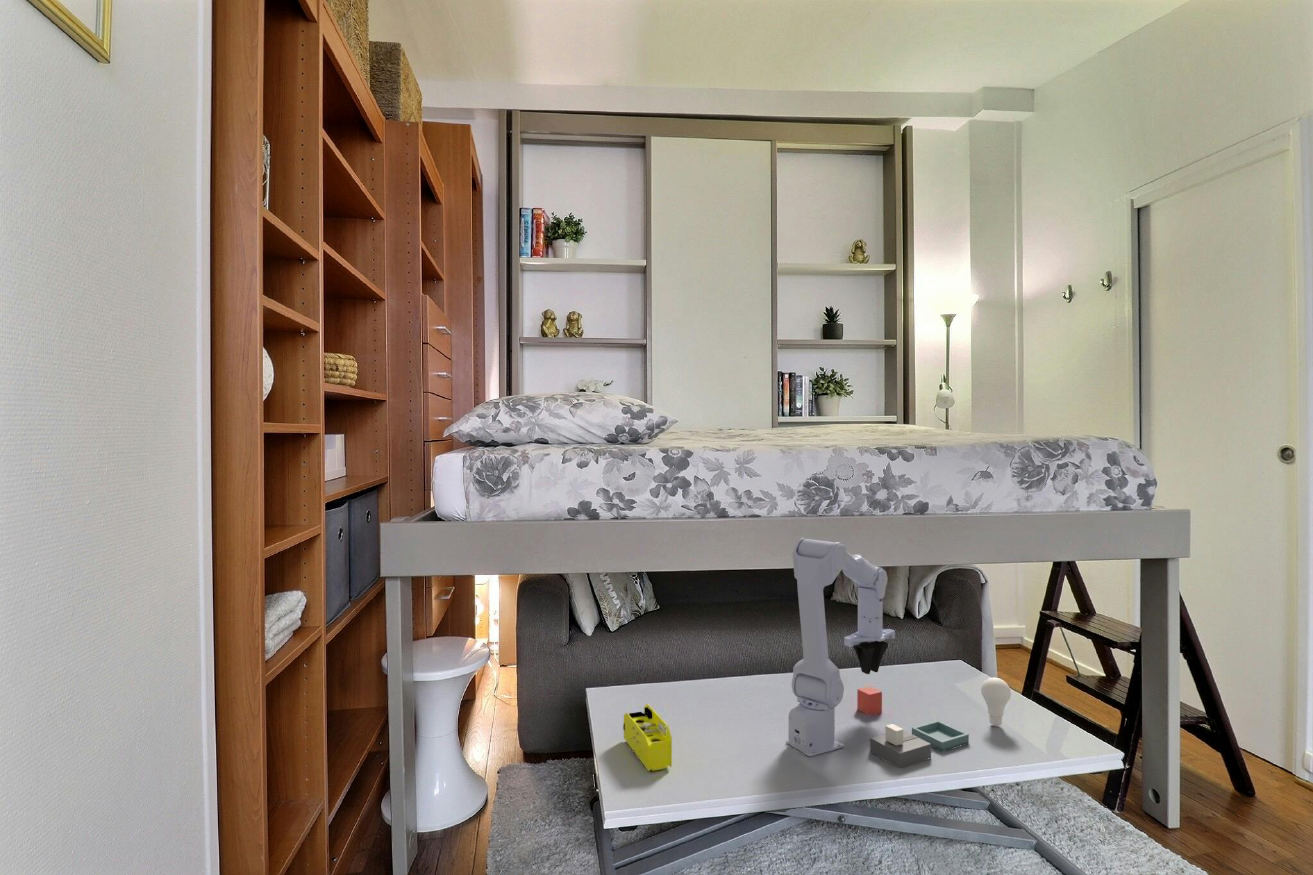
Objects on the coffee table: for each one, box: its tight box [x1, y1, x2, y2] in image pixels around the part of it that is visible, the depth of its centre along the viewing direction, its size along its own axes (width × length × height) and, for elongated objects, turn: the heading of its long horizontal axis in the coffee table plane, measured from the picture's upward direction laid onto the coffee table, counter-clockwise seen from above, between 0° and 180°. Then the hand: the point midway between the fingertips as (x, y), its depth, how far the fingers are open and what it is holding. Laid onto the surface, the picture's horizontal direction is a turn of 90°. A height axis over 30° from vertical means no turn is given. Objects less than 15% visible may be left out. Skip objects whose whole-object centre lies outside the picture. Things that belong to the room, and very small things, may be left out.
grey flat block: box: [869, 729, 932, 769], centre depth 151 cm, size 9×8×3 cm
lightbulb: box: [980, 676, 1012, 727], centre depth 165 cm, size 6×6×11 cm
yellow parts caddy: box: [622, 703, 673, 772], centre depth 151 cm, size 16×6×8 cm, turn 20°
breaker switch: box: [884, 723, 904, 746], centre depth 150 cm, size 2×3×3 cm, turn 28°
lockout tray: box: [911, 720, 970, 752], centre depth 158 cm, size 8×8×2 cm
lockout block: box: [856, 686, 883, 716], centre depth 173 cm, size 4×4×5 cm
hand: (869, 671), depth 173 cm, fingers closed
